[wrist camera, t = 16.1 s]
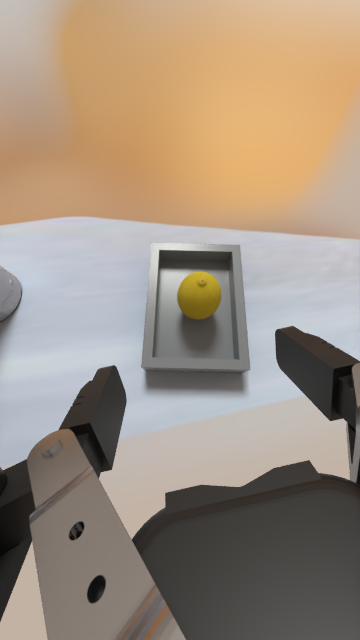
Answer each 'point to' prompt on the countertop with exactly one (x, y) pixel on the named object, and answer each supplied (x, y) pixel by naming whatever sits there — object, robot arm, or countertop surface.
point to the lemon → (199, 295)
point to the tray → (184, 332)
